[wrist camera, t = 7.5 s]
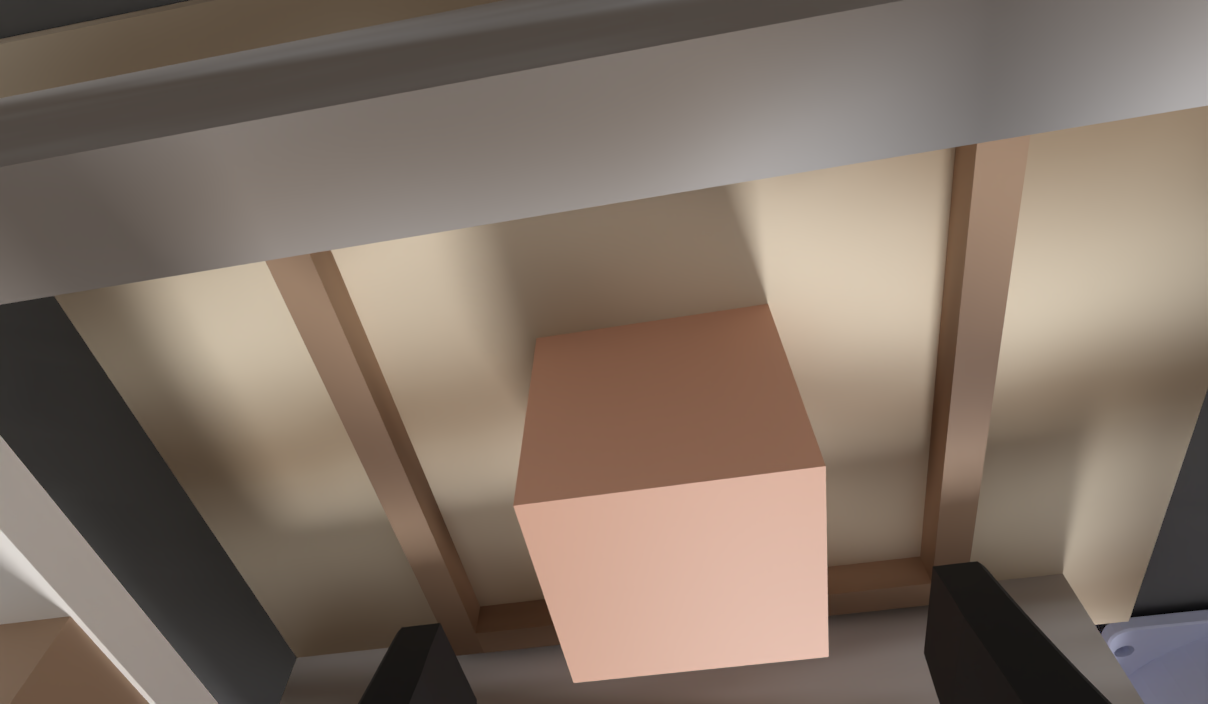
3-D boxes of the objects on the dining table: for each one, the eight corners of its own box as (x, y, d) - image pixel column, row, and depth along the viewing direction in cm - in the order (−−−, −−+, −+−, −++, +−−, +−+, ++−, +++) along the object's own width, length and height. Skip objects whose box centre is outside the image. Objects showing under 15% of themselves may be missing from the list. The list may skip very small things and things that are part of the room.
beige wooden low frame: (1107, 589, 20) (1262, 819, 16) (338, 672, 23) (265, 896, 18) (1358, -237, 11) (1991, -306, 6) (-56, 49, 13) (-459, 175, 8)
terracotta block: (778, 476, 17) (828, 656, 13) (580, 501, 17) (573, 682, 13) (768, 303, 14) (825, 466, 11) (536, 338, 15) (512, 505, 11)
